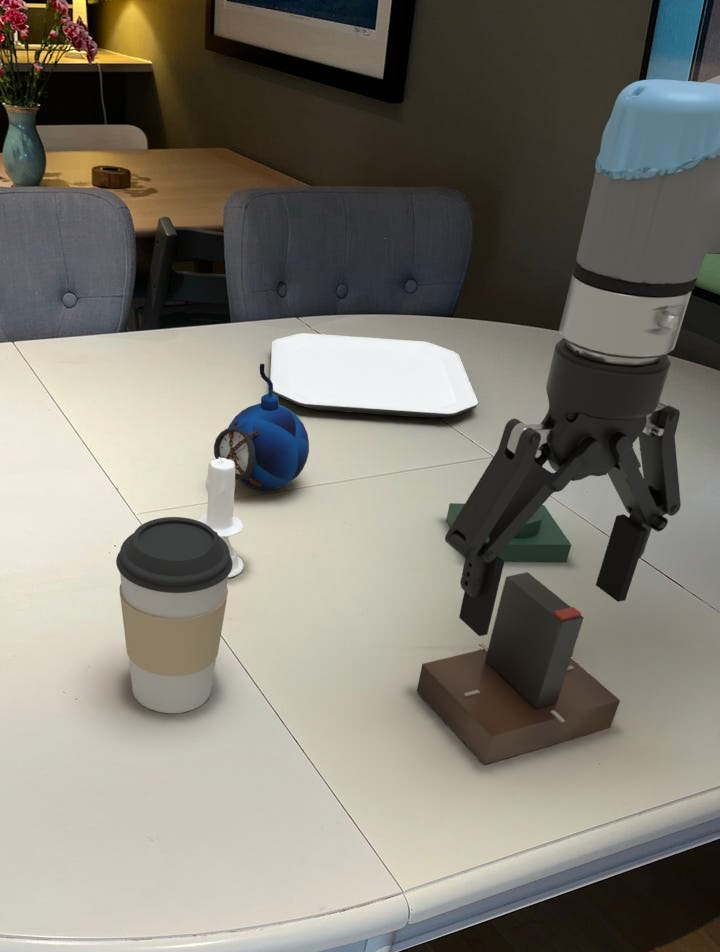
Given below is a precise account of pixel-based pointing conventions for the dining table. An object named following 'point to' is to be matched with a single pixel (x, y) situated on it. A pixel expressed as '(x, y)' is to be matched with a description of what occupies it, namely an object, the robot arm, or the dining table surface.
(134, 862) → the dining table surface
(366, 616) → the dining table surface
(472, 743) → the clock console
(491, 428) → the dining table surface
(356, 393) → the plate
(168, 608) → the coffee cup
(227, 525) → the candle
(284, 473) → the bomb
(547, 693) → the dark grey block
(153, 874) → the dining table surface
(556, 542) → the box
